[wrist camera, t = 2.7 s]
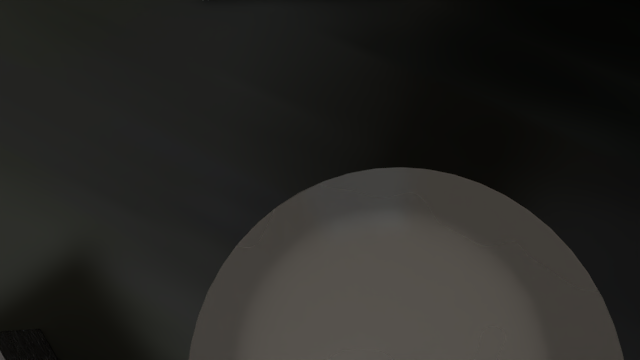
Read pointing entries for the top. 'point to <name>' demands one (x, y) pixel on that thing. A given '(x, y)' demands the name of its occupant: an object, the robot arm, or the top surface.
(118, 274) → the top surface
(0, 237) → the top surface
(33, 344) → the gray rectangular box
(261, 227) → the shiny metal cylinder
